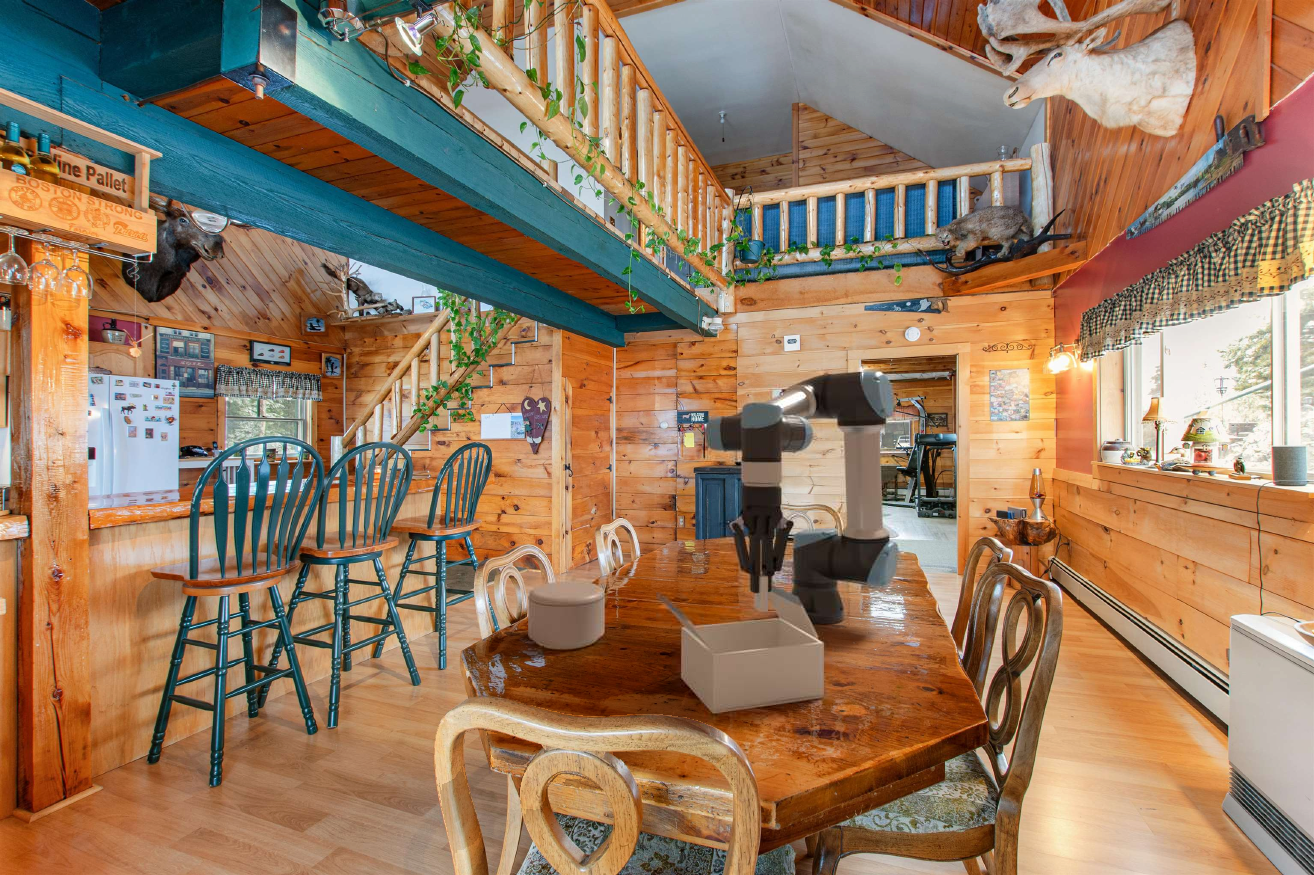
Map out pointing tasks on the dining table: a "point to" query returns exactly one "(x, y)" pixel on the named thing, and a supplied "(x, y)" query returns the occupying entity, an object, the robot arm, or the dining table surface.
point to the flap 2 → (791, 610)
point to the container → (566, 614)
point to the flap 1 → (685, 621)
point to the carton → (752, 664)
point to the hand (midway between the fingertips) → (760, 609)
